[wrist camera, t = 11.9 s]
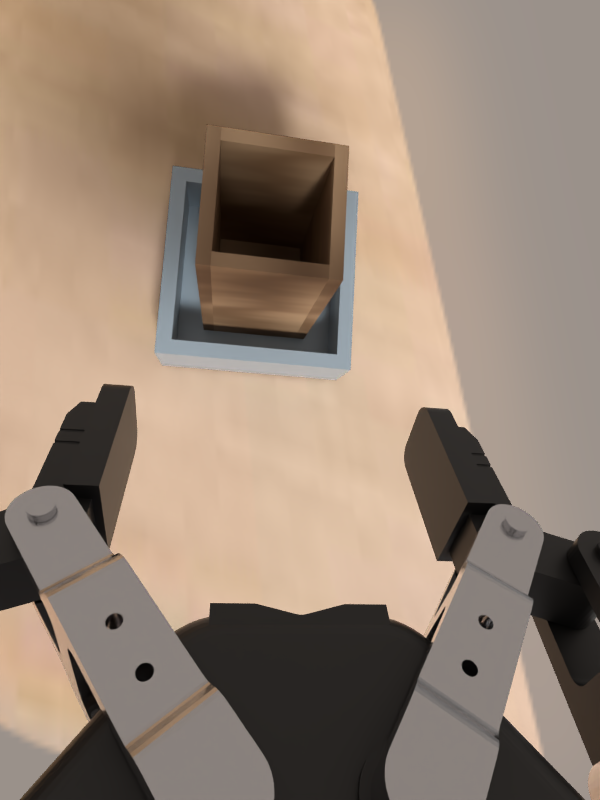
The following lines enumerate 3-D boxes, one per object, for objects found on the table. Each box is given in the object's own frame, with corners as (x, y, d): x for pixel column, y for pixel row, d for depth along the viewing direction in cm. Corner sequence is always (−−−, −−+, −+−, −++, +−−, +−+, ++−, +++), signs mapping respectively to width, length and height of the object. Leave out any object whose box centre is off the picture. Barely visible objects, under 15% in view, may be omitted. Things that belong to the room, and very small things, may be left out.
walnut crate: (203, 329, 29) (194, 263, 20) (211, 233, 30) (206, 124, 20) (303, 339, 30) (343, 280, 20) (308, 245, 31) (349, 145, 21)
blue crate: (162, 365, 30) (154, 352, 26) (178, 198, 31) (172, 165, 28) (336, 380, 31) (350, 370, 28) (343, 220, 33) (358, 191, 29)
